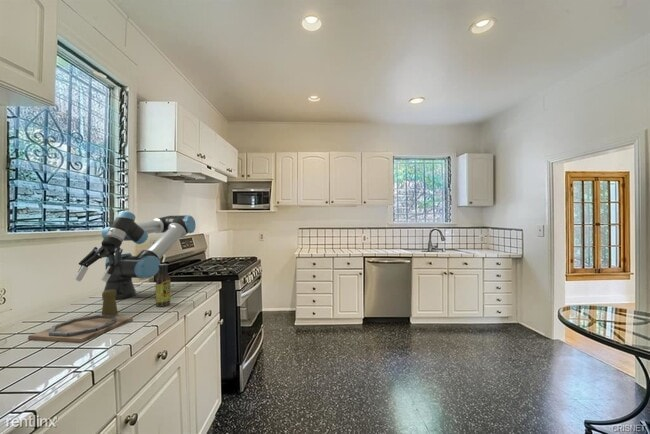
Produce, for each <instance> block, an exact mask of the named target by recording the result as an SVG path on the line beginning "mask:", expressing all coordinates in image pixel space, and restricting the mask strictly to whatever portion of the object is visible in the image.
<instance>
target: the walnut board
mask: <svg viewBox="0 0 650 434" xmlns="http://www.w3.org/2000/svg"><path fill="white" fill-rule="evenodd" d="M87 316H91V315H89V314H88V315H84V316H83V317H87ZM110 321H112V319H107V318H94V319H88V320H82V321H77V322H73V323H70V324H67V325H64V326H62V327H59V328H56V330H55V331H57V332H74V331H79V330H85V329H90V328H95V327H98V326H100V325H103V324H105V323H108V322H110ZM131 321H133V317H132V316H115V324H112V325H110V326H107V327H105V328H103V329H100V330H98V331H94V332H89V333H83V334H78V335H73V336H51V335H49V331H50V329H51V328H52V327H50V328H47V329H44V330H42V331H38V332H35V333H33V334H30V335H28V337H27V338H28V340H32V341H33V340H37V341H53V342H67V343H68V342H71V343H84V342H86V341H88V340H90V339H92V338H94V337H97V336H99V334H100V335H102V334H104V333H107V332H109V331H111V330H113V329H115V328H118V327H120V326H122V325H125V324H127V323H130V322H131ZM83 341H84V342H83Z"/></svg>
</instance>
